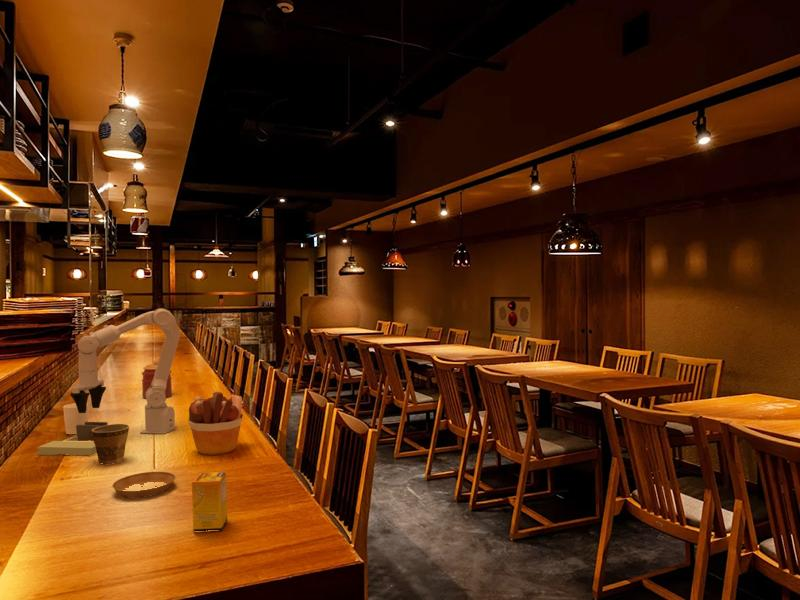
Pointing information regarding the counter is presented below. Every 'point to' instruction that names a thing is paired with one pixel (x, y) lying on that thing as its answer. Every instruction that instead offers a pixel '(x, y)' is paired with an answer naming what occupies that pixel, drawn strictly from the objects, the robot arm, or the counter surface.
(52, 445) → the tan bracket
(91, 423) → the chute
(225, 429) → the bucket of meat
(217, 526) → the supplement box
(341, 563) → the counter surface
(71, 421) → the white cup
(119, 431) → the ceramic cup
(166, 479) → the plant saucer
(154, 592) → the counter surface
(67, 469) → the counter surface
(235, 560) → the counter surface
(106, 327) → the robot arm
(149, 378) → the canister
